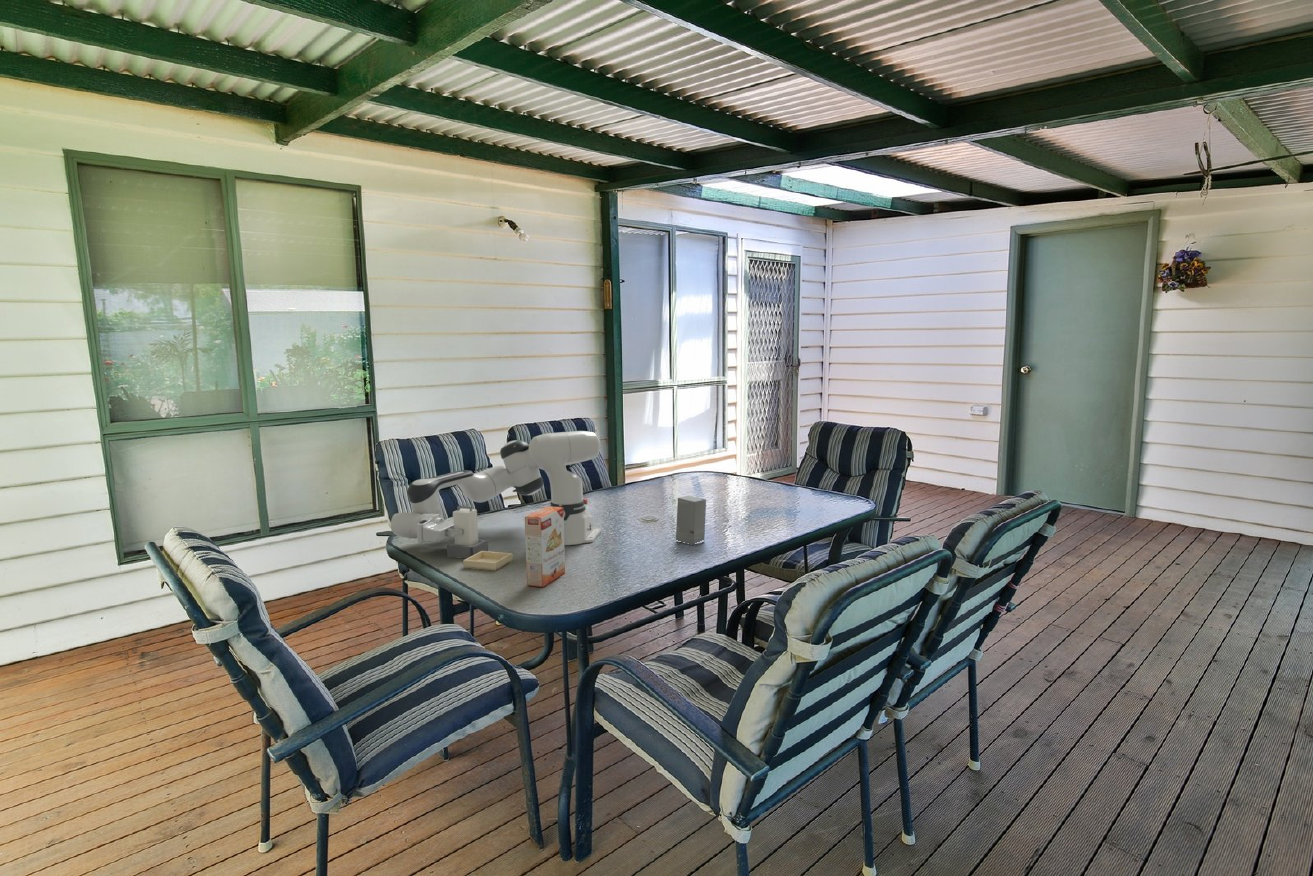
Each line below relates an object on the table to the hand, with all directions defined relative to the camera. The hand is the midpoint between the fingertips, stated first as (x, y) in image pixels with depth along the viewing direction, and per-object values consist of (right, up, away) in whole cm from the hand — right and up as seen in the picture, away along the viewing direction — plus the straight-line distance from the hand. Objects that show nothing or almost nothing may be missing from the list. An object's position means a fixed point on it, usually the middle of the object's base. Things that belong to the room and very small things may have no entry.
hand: (468, 529), depth 237 cm
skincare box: (+75, -6, +10) cm, 76 cm away
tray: (+9, -10, -10) cm, 17 cm away
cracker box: (+30, -12, -26) cm, 42 cm away
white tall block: (-1, -8, +1) cm, 9 cm away
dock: (0, -8, +1) cm, 9 cm away
